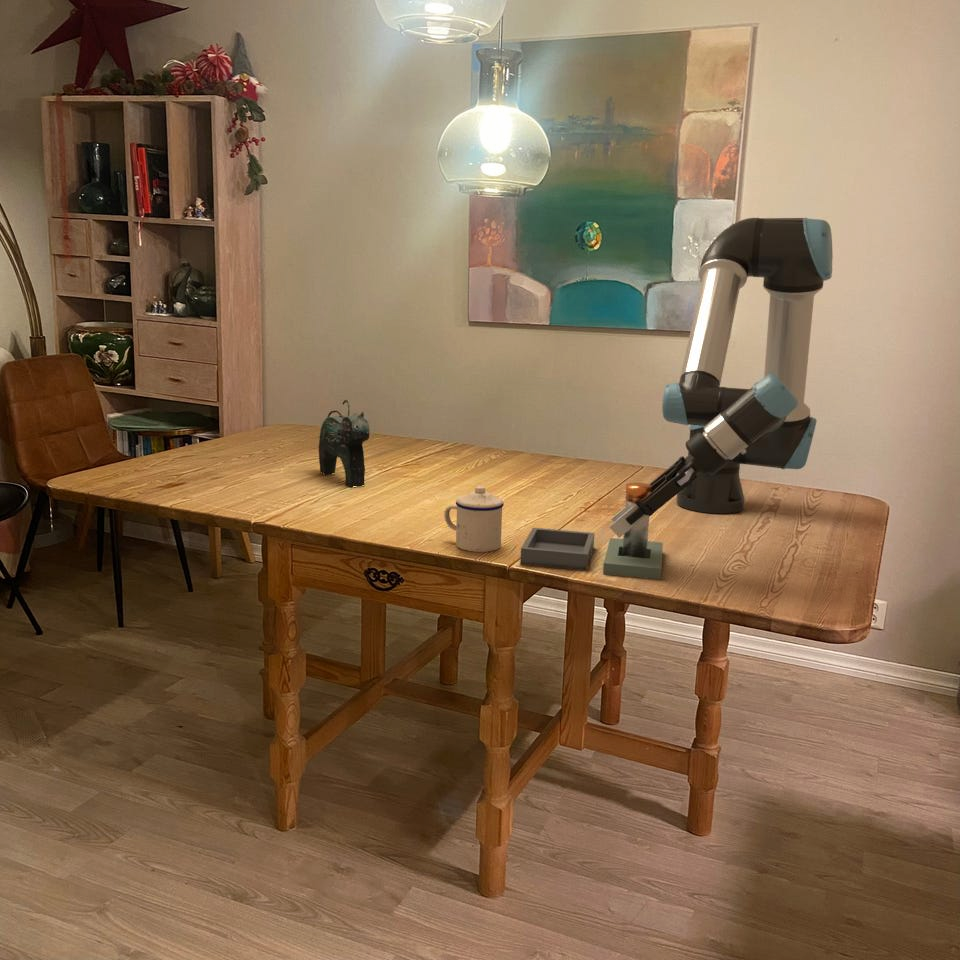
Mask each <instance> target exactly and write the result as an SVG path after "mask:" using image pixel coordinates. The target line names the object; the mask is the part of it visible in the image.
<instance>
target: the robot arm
mask: <svg viewBox="0 0 960 960" xmlns="http://www.w3.org/2000/svg"><path fill="white" fill-rule="evenodd" d="M831 228H832V227H831V225H830V223H829V222H828V221H826V220H824V219H819V218H818V219H815V218H808V217H778V218H777V217H767V218H766V217H765V218H764V217H761V218H760V217H750V218H749V217H748V218H744V219H741V220H739V221H737V222H735V223H732V224H731V225H729V226H728V227H727V228H725V229H724V230H723V231H722V232H720V233H719V234H718V236H716V238H715V239H713V241H712V242H711V243H710V245H709V246H708V248H707V249H706V251H705V253H704V254H703V257H702V259H701V262H700V265H699V270H698V279H699V281H700V282H701V283H700V288H699V294H698V298H697V301H696V306H695V311H694V315H693V319H692V323H691V328H690V331H689V332H690V333H689V337H688V342H687V346H686V350H685V354H684V360H683V364H682V369H681V373H680V377H679V382H670V383H668V384H667V385H666V387H665V388H664V391H663V394H662V395H663V396H662V402H661V403H662V405H661V408H662V417H663V419H664V420H665V422H668V423H672V424H673V423H674V424H679V425H685V426H689V428H688V429H689V439H688V440H687V441H685V448H686V450H687V456H686V457H685V456H683V455H682V456H680V457H679V458H678V459H677V460H676V461H675V462H674V463H673V464H672V465H670V466H669V468H667V469H666V470H665V471H663V472H662V473H661V474H660V475H659V476H657V477H656V478H655V479H653V480H652V481H651V482H650V483H648V484H649V485H651V486H652V492H651V493H650V494H649V495H648V496H647V497H646V498H645V499H644V500H642V501H641V502H638V501H637V500H636V501H635V505H634V506H633V507H632V508H630V509H629V510H628V511H627V512H626V513H625V506H624V507H623V508H622V509H620V510H619V511H618V512H617V513H616V514H614V515H613V516H612V517H611V520H612V521H613V522H612V523H611V524H610V525H609V526H608V527H609V528H610V530H611V531H612V532H613V533H614V535H616V536H617V537H618V539H621V538H622V536H624V534H625V533H626V532H627V531H628V530H630V529H631V528H632V527H633V526H634V525H636V524H637V523H638V522H639V521H641V520H642V519H643V518H644V517H646V516H647V515H648V516H649V517H651V516H652V515H653V514H654V513H656V512H657V511H658V510H660V509H661V508H662V507H663V506H664V505H665V504H667V502H669V501H670V500H672V499H673V498H674V497H675V496H676V501H675V502H676V504H677V505H678V506H679V507H682V508H683V509H686V510H691V511H693V512H694V511H695V512H701V513H706V514H733V513H734V514H735V513H740V512H741V511H743V510H745V509H744V508H745V501H746V500H745V495H744V491H743V487H742V483H741V479H740V478H741V477H740V466H741V465H749V466H757V467H764V468H765V467H766V468H774V469H781V470H787V469H789V470H790V469H791V470H801V469H803V468H804V467H805V466H806V465H807V461H808V458H809V455H810V454H809V453H810V450H811V446H812V443H813V442H812V441H813V437H814V434H815V430H816V425H817V421H818V420H817V418H815V417H813V416H811V409H810V407H809V406H808V405H807V404H806V403H805V395H806V382H807V373H808V366H809V365H808V362H809V352H810V344H811V343H810V341H811V331H812V323H813V321H812V320H813V311H814V301H815V300H814V299H815V296H816V294H817V293H819V292H820V291H822V290H823V288H824V282H825V281H828V280H830V279H831V278H832V276H833V257H834V256H833V236H832V234H833V233H832V229H831ZM749 277H752V278H763V284H762V287H763V289H764V290H765V291H766V292H767V293H768V294H769V303H768V305H769V307H768V319H767V320H768V321H767V332H766V333H767V334H766V347H765V361H764V370H763V371H764V373H763V378H761V379H760V380H759V381H756V382H755V383H754V384H753V386H752V387H750V388H739V387H737V388H736V387H727V386H720V385H721V382H722V376H723V374H724V373H723V371H724V368H725V362H726V358H727V353H728V348H729V344H730V343H729V342H730V338H731V333H732V328H733V322H734V319H735V314H736V308H737V305H738V299H739V296H740V295H739V294H740V290H741V289H742V288H743V287H745V285H746V284H747V280H748V278H749ZM649 506H650V507H649Z"/></svg>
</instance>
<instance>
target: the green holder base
mask: <svg viewBox="0 0 960 960" xmlns="http://www.w3.org/2000/svg"><path fill="white" fill-rule="evenodd" d="M663 547H664V542H659V541H651V540H649V541H648V543H647V556H646V557H643V558H637V557H626V556H624V555H623V554H622V552H623V538H617V537H616V538H614V537H610V539H609V541H608V545H607V549H606V553H605V556H604V560H603V569H602V570H603V571H602V575H608V576H609V575H612V576H621V577H632V578H642V579H643V578H644V579H653V580H661V576H662V575H661V574H662V562H663Z"/></svg>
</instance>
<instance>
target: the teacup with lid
mask: <svg viewBox="0 0 960 960" xmlns="http://www.w3.org/2000/svg"><path fill="white" fill-rule="evenodd" d="M504 506H505V505H504V501H503V499H502V498H500V496H496V495H493V494H492V493H491V492H489V491H486V487H485V486H484V485H483V486H482V485H480V486H479V485H478V486H475V487H474V490H472V491H470V492H469V493H467V494H463V495H460V496H458V497H457V499H456V501H455V504H451V505H448V506H447V507H446V508H445V510H444V515H443V516H444V521H445V522H446V525H447V527H449V528H450V529H451V530H453V531H456V533H455V545H456V547H457V548H458V549H461V550H463V551H466V550H467V552H471V551H473V553H486V552H487V553H488V551H489V552H492V551H496V550H498V549H500V548H501V545H502V528H503V527H502V524H503V523H502V522H503V521H502V520H503V507H504ZM453 509H454V510H456V525H455V524H454V523H453V522H452V519H451V517H450V513H451V510H453Z"/></svg>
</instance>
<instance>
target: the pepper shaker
mask: <svg viewBox="0 0 960 960" xmlns="http://www.w3.org/2000/svg"><path fill="white" fill-rule="evenodd" d="M649 484H650V483H644V482H630V483H627V484H626V485H625V497H624V498H625V506H624V507H625V513H626V512H627V511H628V510H629V509H630V508H632V507H633V506H634V505H635V501H636V500H637V501H638V502H641V501H642V500H644V499H645V498H646V497H647V496H648V495H649V494H650V493H651V492H652V486H651V485H649ZM649 507H650V506H649ZM649 525H650V516H648V515H647V516H646V517H644V518H643V519H642V520H641V521H639V522H638V523H637V524H636V525H634V526H633V527H632V528H631V529H630V530H628V531H627V532H626V533H625V534H623V535H622V536H623V538H622V539H623V552H622V554H623V555H624V556H626V557H637V558H643V557H646V556H647V543H648V540H649Z"/></svg>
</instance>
